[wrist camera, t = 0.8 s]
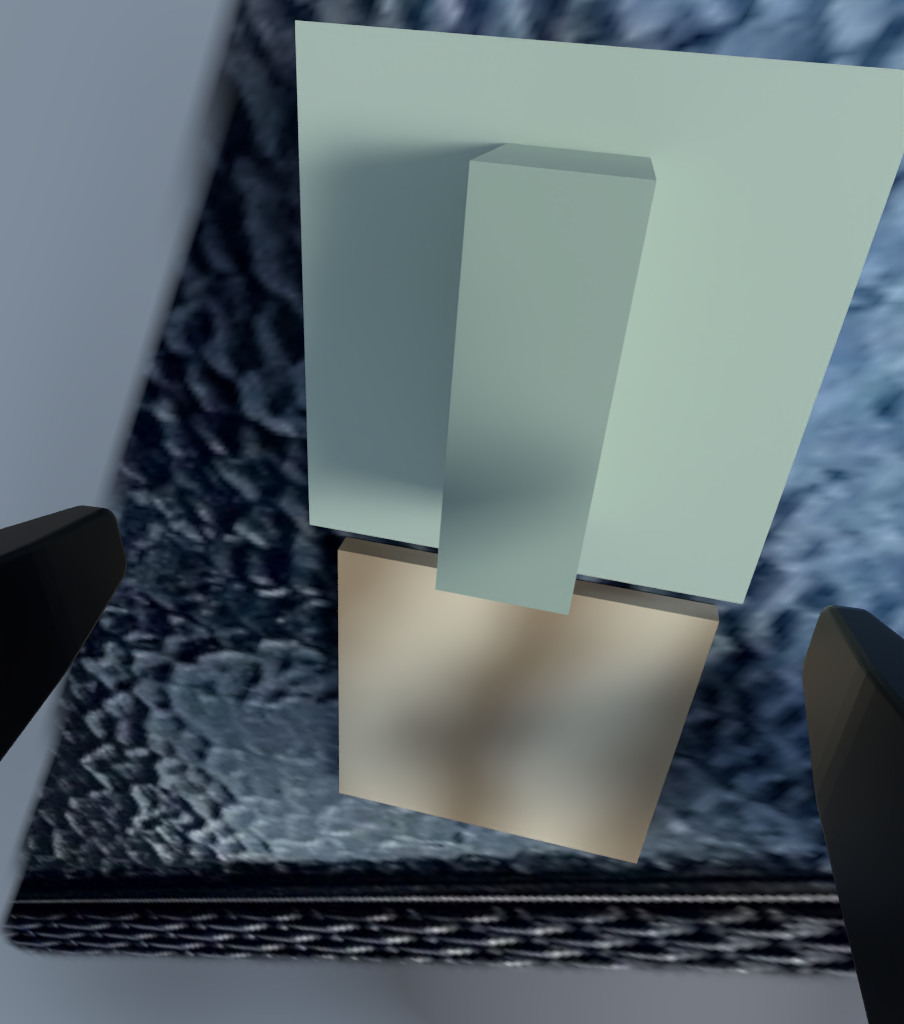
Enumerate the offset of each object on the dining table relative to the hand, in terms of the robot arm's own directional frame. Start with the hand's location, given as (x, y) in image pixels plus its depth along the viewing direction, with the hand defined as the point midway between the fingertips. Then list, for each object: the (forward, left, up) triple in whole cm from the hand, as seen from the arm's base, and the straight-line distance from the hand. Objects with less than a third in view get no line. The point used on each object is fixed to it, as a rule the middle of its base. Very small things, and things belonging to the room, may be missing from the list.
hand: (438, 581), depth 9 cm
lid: (-1, -1, -8) cm, 8 cm away
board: (-1, +14, -12) cm, 19 cm away
